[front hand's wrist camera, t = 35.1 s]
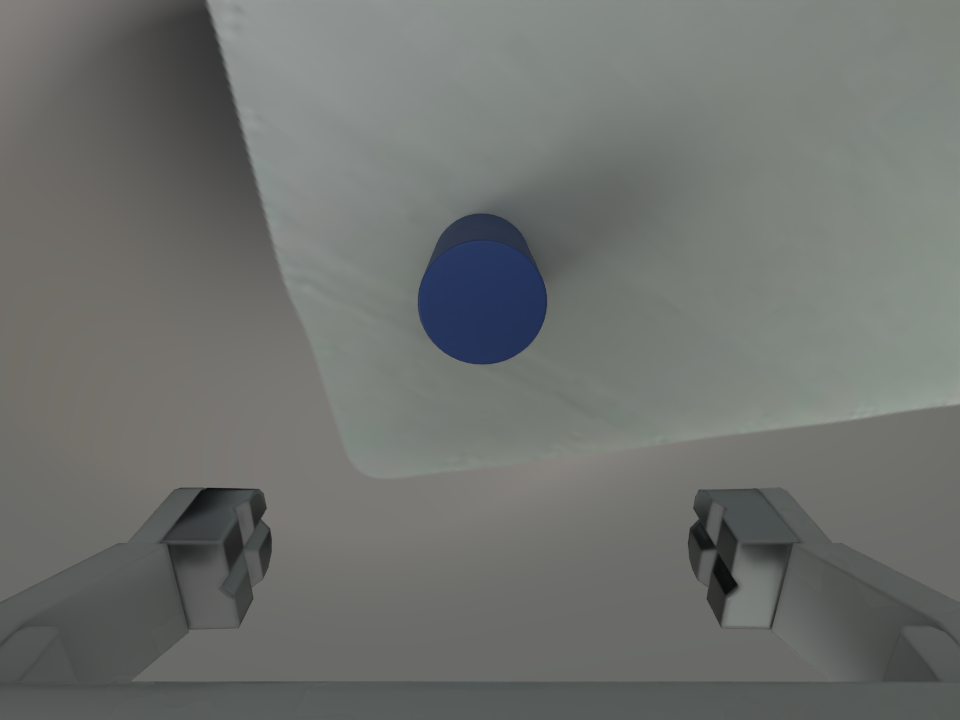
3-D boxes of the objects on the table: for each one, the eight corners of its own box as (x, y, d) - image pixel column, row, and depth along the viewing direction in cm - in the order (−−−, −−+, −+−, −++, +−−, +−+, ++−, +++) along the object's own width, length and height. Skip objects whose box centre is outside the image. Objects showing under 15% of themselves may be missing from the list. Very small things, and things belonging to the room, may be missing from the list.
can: (471, 192, 31) (469, 211, 23) (549, 253, 32) (573, 292, 24) (414, 272, 32) (392, 317, 24) (490, 327, 34) (494, 388, 25)
